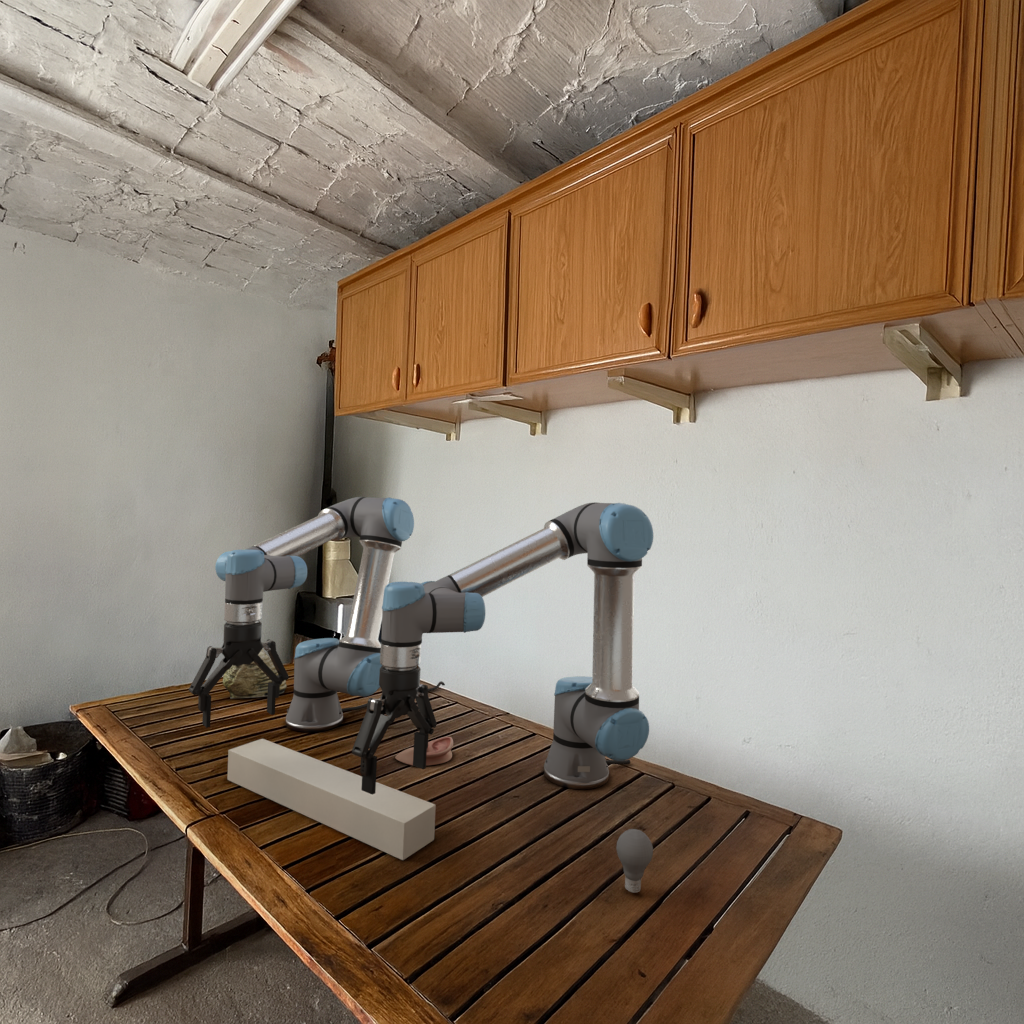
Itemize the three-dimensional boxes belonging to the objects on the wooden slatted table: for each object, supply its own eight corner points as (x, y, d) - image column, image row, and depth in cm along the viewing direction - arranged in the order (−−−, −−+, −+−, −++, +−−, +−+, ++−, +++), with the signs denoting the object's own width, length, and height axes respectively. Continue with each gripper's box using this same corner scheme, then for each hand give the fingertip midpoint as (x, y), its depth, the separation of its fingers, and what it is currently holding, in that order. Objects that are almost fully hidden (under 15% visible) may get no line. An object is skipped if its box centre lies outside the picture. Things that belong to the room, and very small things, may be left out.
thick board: (227, 779, 140) (228, 749, 140) (261, 766, 147) (262, 738, 147) (402, 860, 112) (404, 823, 112) (434, 839, 119) (435, 804, 119)
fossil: (218, 695, 195) (220, 647, 195) (278, 685, 208) (279, 640, 207) (228, 703, 189) (230, 653, 188) (289, 692, 201) (290, 645, 201)
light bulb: (610, 879, 108) (613, 822, 108) (644, 879, 109) (647, 822, 109) (619, 902, 102) (622, 840, 102) (655, 901, 103) (658, 840, 103)
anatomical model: (390, 746, 152) (408, 729, 163) (390, 762, 152) (407, 745, 163) (443, 753, 149) (457, 735, 160) (443, 770, 149) (457, 751, 160)
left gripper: (185, 630, 126) (182, 736, 126) (305, 619, 142) (302, 712, 143) (175, 624, 131) (171, 725, 132) (292, 613, 148) (288, 703, 148)
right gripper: (365, 684, 105) (359, 810, 106) (457, 657, 126) (452, 762, 127) (334, 675, 109) (328, 797, 110) (428, 650, 130) (423, 753, 131)
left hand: (239, 719), depth 137 cm, fingers open, 13 cm apart
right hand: (395, 778), depth 118 cm, fingers open, 13 cm apart
